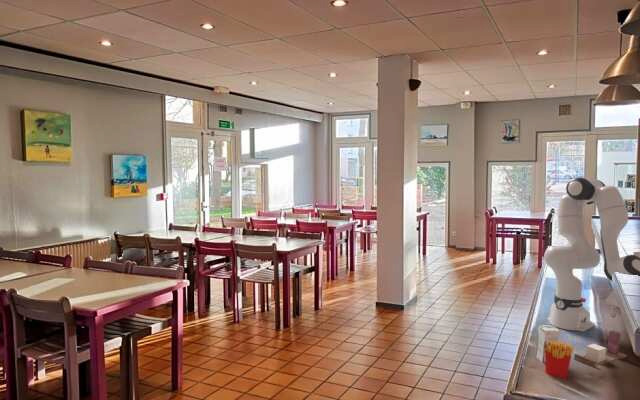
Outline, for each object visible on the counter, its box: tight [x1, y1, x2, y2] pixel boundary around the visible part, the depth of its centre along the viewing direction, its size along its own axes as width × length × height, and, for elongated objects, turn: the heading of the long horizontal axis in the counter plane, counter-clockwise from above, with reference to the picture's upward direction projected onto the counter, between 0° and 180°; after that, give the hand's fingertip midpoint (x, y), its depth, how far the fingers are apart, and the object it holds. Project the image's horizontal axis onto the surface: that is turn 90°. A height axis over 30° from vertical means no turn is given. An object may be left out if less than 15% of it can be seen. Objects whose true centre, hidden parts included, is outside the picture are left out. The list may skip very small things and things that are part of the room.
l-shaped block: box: [573, 329, 627, 368], centre depth 204 cm, size 24×8×10 cm, turn 122°
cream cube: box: [585, 343, 607, 362], centre depth 202 cm, size 5×5×5 cm
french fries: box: [545, 341, 574, 379], centre depth 187 cm, size 9×4×13 cm, turn 59°
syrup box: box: [535, 325, 560, 364], centre depth 199 cm, size 6×6×14 cm
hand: (623, 320), depth 211 cm, fingers open, 8 cm apart
